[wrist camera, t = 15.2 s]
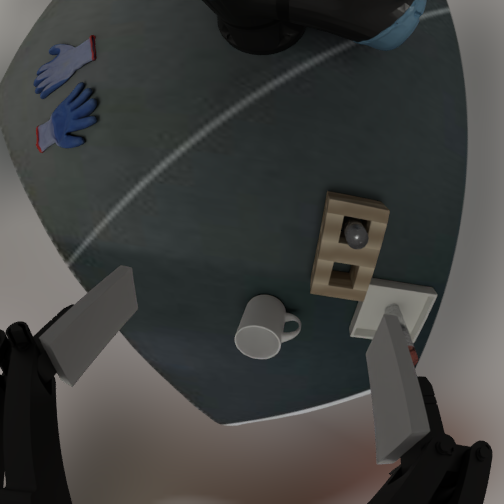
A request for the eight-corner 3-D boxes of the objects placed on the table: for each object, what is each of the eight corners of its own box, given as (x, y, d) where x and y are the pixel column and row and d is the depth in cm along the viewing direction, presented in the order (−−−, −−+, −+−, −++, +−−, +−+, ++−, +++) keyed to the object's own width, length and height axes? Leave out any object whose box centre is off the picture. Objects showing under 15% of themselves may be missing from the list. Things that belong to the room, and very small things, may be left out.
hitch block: (327, 191, 45) (329, 198, 40) (381, 201, 44) (390, 210, 39) (310, 276, 53) (310, 293, 47) (359, 284, 51) (363, 301, 46)
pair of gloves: (38, 62, 42) (29, 62, 39) (100, 18, 37) (90, 15, 33) (44, 162, 55) (35, 165, 52) (106, 135, 49) (96, 137, 46)
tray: (366, 276, 50) (369, 284, 47) (432, 287, 48) (437, 294, 45) (349, 327, 56) (350, 336, 53) (410, 334, 53) (413, 342, 51)
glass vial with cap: (387, 302, 51) (405, 354, 37) (401, 304, 50) (421, 355, 37) (382, 315, 52) (396, 368, 38) (396, 317, 52) (412, 369, 38)
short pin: (342, 209, 46) (349, 226, 38) (360, 213, 46) (371, 230, 38) (339, 227, 48) (344, 247, 39) (356, 230, 47) (365, 251, 39)
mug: (302, 326, 58) (298, 361, 48) (248, 324, 61) (237, 357, 51) (302, 293, 55) (299, 327, 45) (244, 292, 57) (231, 323, 48)
